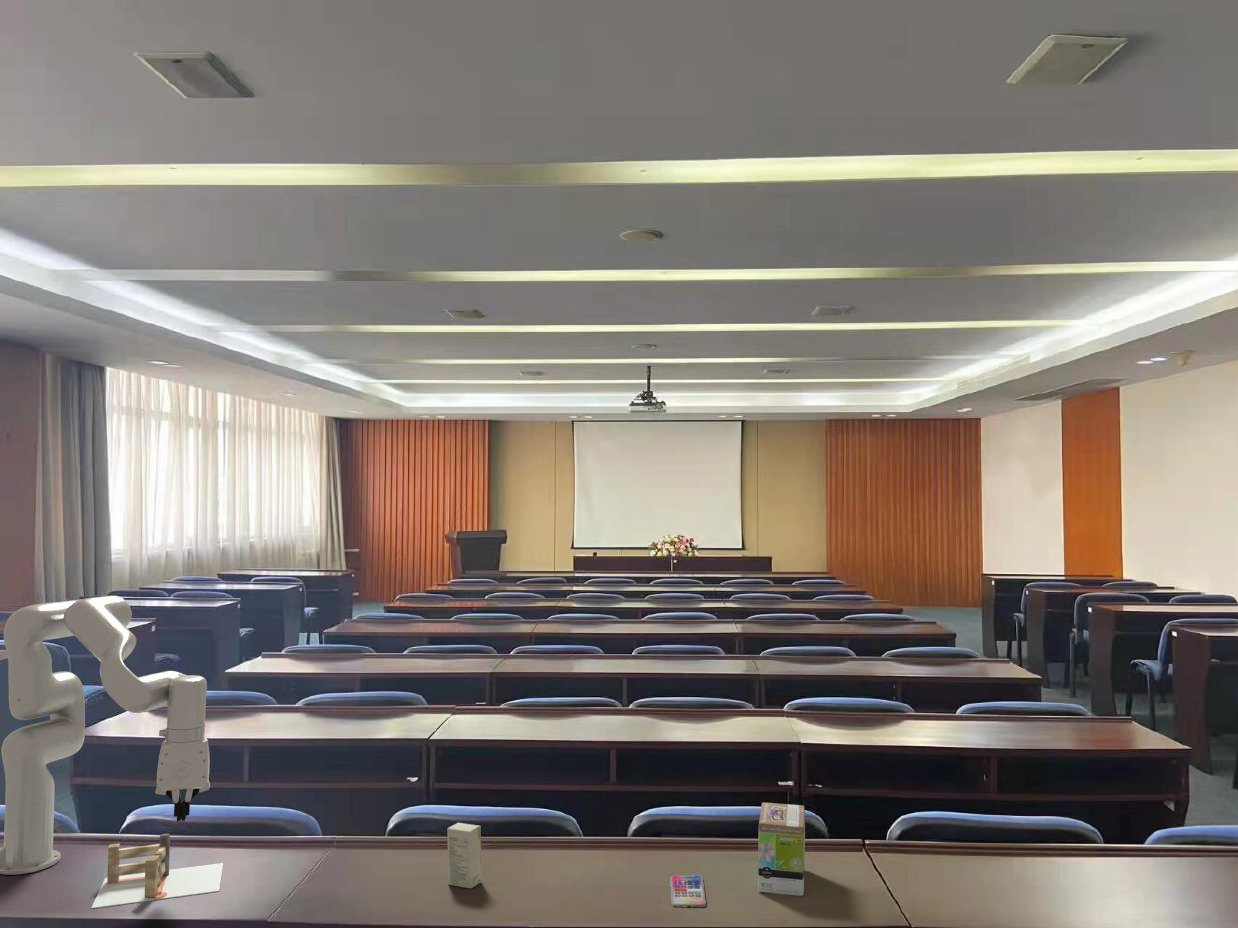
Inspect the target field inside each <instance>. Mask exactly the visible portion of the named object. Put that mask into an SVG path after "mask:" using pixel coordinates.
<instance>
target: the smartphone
mask: <svg viewBox="0 0 1238 928" xmlns="http://www.w3.org/2000/svg"><path fill="white" fill-rule="evenodd" d="M670 887H671V889H670V906H672V905H673V906H684V907H683V908H688V907H691V908H693V907H703V908H705V907H707V901H706V900H707V899H706V894H705V893H706V892H705V882H704V879H703V876H701V875H672V876H670V877H669V888H670ZM673 906H672V907H673Z"/></svg>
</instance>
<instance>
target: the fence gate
mask: <svg viewBox="0 0 1238 928" xmlns="http://www.w3.org/2000/svg"><path fill="white" fill-rule="evenodd" d="M165 855H166V846H161V847H160V849H159V850H158V852H156V853H155V855H153V856H147V858H146V859H145V861H144V862H145V897H155V896H156V894H157V889H158V884H160V882H161V877H162V876H163V874H164V873H165V862H162V860H163V859H164V857H165ZM161 862H162V863H161Z"/></svg>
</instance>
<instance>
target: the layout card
mask: <svg viewBox="0 0 1238 928" xmlns="http://www.w3.org/2000/svg"><path fill="white" fill-rule="evenodd" d="M223 869H224V862H220V863H213V864H205V865H203V864H202V865H197V866H188V867H180V868H172V869H169V875H168V876H165V877H161V882H160V884H158V889H157V894H156V896H155V897H145V873H137V874H130V875H122V876H119V881H118V883H113V884H107V877H105V878H104V880H103V882H102V884H101V886H100V888H99V891H98V892H97V894H96V898H95V899H94V902H93V903H92V906H91V909H93V910H94V909H101V908H107V907H108V908H109V907H115V906H121V905H129V904H137V903H144V902H152V901H159V900H167V899H173V898H182V897H189V896H194V895H195V896H197V895H202V894H203V895H205V894H211V893H216V892H217V893H218V892H220V888H221V882H222V875H223Z"/></svg>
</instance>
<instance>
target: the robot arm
mask: <svg viewBox="0 0 1238 928" xmlns="http://www.w3.org/2000/svg"><path fill="white" fill-rule="evenodd" d="M132 614H133V613H132V609H131V606H130V604H129V602H127V600H125V599H124V598H123V597H122V596H121V597H120V596H117V595H105V596H97V597H86V598H81V599H73V600H72V599H71V600H63V601H54V602H53V601H52V602H44V603H43V602H41V603H37V604H32V605H31V604H30V605H28V606H24V607H21V608H19V609H18V610H15V612H12V614H11V615H10V616H9V617H8V618H7V620H6V622H5V625H4V628H3V641H4V646H5V650H6V655H7V656H6V657H7V663H8V664H7V665H8V669H7V670H8V671H7V675H8V676H7V677H8V678H7V679H8V705H9V706H8V708H9V711H10V714H11V715H12V717H14V719H16V720H20V721H28V720H34V719H38V718H43V717H47V716H49V719H50V720H46V721H41V722H38V723H33V724H29V725H26V726H22V727H20V728H17V729H15V730H13V731H12V732H11V733H9V734H8V735H7V736H6V737H5V738H4V740H3V742H2V745H1V751H0V752H1V758H2V765H3V770H4V777H5V792H4V793H5V796H4V797H5V798H4V799H5V805H4V807H5V808H4V830H3V831H4V832H3V833H4V835H3V837H4V838H3V846H1V847H0V875H6V876H7V875H8V876H9V875H10V876H12V875H13V876H15V875H24V874H29V873H30V874H31V873H34V872H38V871H42V870H45V869H47V868H50V867H52V866H54V865H55V864H57V863H58V862H59V861H60V860H61V852H60V851H58V850H55V849H54V825H55V824H54V823H55V821H54V820H55V818H54V817H55V780H54V777H53V775H52V774H51V772H50V771H49V769H48V768H47V764H50V763H53V762H56V761H57V760H62V759H65V758H68V757H70V756H72V755H75V754H77V753H78V752H79V751H80V749H81V748H82V747H83V745H84V742H85V735H86V712H85V711H86V710H85V705H86V704H85V700H86V699H85V690H84V686H83V684H82V681H81V679H80V678H79V676H77V675H76V674H74V673H73V672H71V671H55V672H53V668H52V667H53V665H52V664H53V660H52V655H51V652H50V650H49V648H48V647H47V646H46V644H45V643H44V641H48V640H49V641H50V640H54V639H62V638H69V637H75V638H76V639H78V641H79V642H80V643H82V645H83V646H84V647H85V648H86V649H87V650H88V651H89V652H91V654H92V655H93V656H94V657H95V658H97V660H98V661H99V662H100V666H99V675H100V681H101V685H102V687H103V689H104V691H105V693H106V694H108V696H109V697H110V698H111V699H112V700H113V701H114V702H115V703H116V704H118V706H120V708H122V709H124V710H125V711H127V712H129V713H132V714H141V713H146V712H149V711H153V710H155V709H159V708H161V709H162V708H165V707H167V719H166V720H167V721H166V727H165V728H164V729H160V730H159V732H158V737H162V738H163V737H164V739H165V740H163V741H162V743H161V746H160V751H159V755H158V764H157V771H156V788H155V792H154V793H155V794H156V795H160V796H161V795H162V796H167V797H168V798H169V799H170V800H171V801H172V802H173V804H174V805H173V806H174V807H173V817H174V818H175V817H176V822H181V821H182V822H185V821H186V818H187V816H190V812H191V811H190V810H191V800H192V799H194V797H196V796H197V795H198V794H199V793H203V792H206V791H209V790H210V787H211V784H210V780H209V778H210V765H211V764H210V763H211V762H210V748H209V740H208V738H207V737H205V733H206V731H205V730H206V713H207V711H206V709H207V693H208V692H207V691H208V681H207V679H206V678H205V677H204V676H201V675H195V674H194V675H187V674H184V673H182V672H179V671H175V670H165V671H161V672H155V673H151V674H147V675H141V676H137V675H136V674H134V672H133V671H131V669H129V668H128V667H127V665H125V663H124V660H126V659H127V658H128V657H129V656H130V655H131V654H132V652H133V651H134V649H135V647H136V644H137V638H136V636H135V634H134V633H133V632H132V631H130V629H128V628H127V626H128V625H129V624H130V623H131V620H132V616H133V615H132ZM180 790H181V791H182V790H186V792H185V796H184V797H183V799H182V796H181V793H180Z"/></svg>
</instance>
